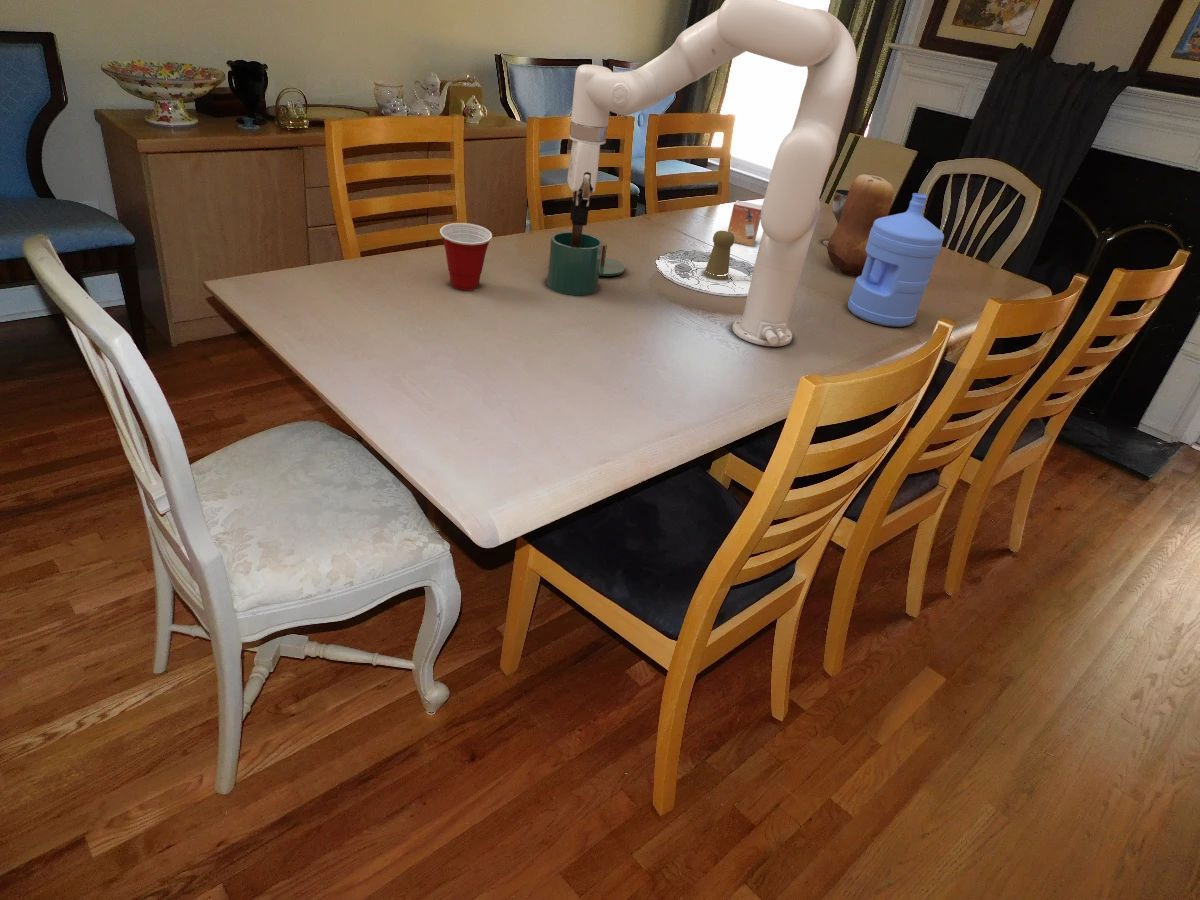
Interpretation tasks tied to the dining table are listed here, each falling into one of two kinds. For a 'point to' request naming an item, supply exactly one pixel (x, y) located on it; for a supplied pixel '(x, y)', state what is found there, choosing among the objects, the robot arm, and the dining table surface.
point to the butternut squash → (859, 222)
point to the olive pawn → (720, 255)
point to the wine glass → (838, 205)
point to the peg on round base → (576, 236)
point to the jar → (574, 264)
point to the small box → (745, 222)
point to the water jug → (896, 267)
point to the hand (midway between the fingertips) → (578, 222)
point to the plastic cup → (465, 253)
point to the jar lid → (609, 265)
